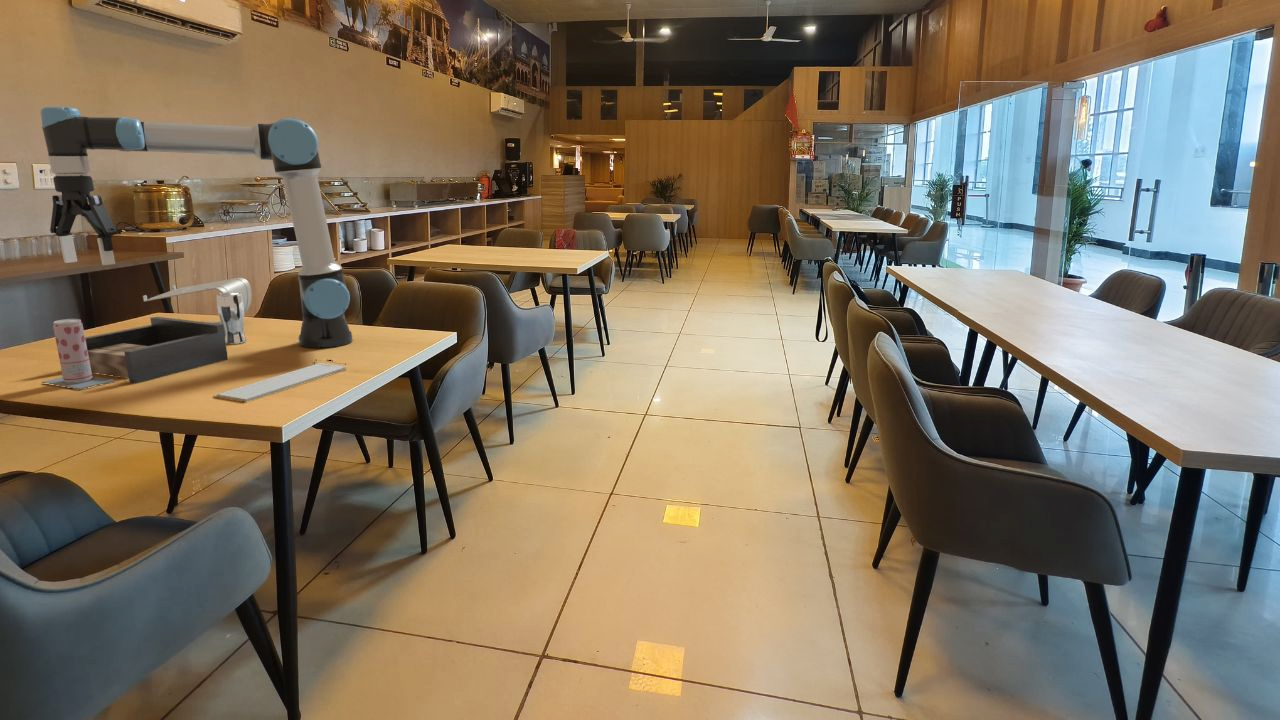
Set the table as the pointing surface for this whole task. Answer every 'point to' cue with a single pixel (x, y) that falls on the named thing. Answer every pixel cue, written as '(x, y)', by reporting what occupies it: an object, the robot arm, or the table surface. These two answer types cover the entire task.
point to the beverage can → (72, 351)
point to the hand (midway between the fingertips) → (89, 263)
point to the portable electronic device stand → (223, 286)
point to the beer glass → (232, 316)
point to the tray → (166, 347)
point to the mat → (83, 385)
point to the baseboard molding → (280, 382)
